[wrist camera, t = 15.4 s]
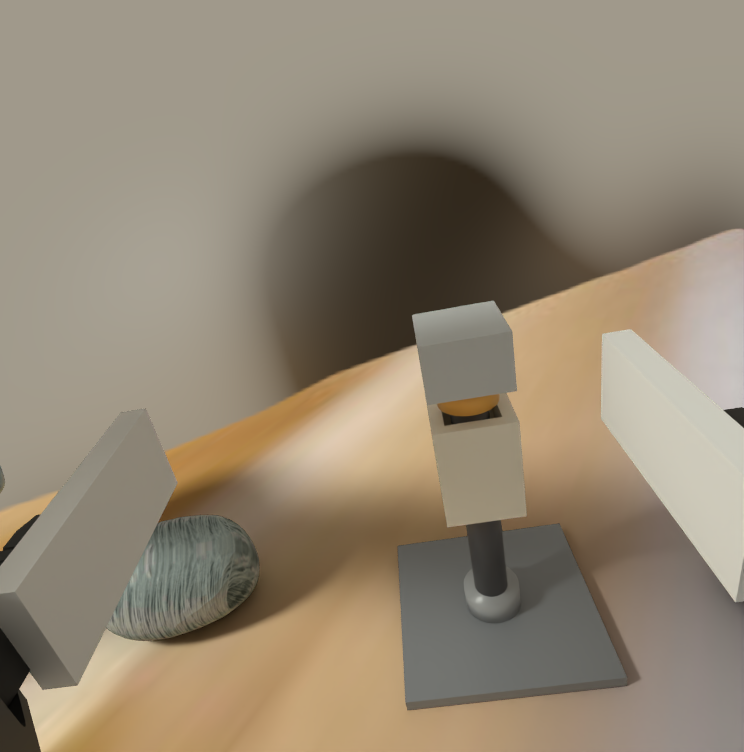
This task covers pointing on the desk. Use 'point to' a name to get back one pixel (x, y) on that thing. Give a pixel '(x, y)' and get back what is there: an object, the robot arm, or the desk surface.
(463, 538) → the stand
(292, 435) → the desk surface
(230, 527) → the grey oval lump
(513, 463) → the sleeve
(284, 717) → the desk surface
